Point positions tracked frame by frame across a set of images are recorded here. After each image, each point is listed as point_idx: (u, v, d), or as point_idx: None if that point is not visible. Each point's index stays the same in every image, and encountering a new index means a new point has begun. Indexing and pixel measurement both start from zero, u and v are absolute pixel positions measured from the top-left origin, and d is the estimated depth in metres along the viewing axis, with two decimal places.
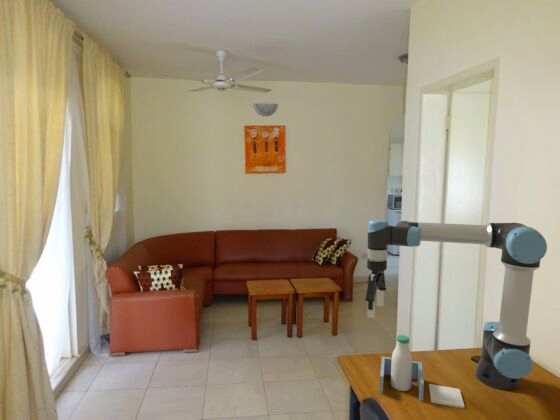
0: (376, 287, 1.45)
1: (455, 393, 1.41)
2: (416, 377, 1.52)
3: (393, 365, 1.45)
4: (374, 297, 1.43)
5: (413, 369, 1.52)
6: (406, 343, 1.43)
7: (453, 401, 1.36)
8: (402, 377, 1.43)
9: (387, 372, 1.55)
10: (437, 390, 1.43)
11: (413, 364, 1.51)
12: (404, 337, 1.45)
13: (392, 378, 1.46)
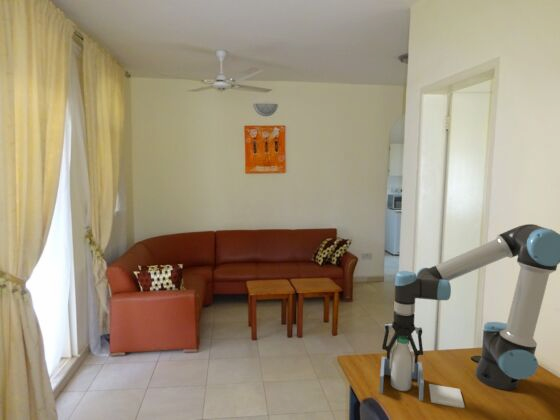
0: (394, 339, 1.45)
1: (455, 393, 1.41)
2: (416, 377, 1.52)
3: (393, 365, 1.45)
4: (390, 348, 1.46)
5: None
6: (406, 343, 1.43)
7: (453, 401, 1.36)
8: (402, 377, 1.43)
9: (387, 372, 1.55)
10: (437, 390, 1.43)
11: None
12: (404, 337, 1.45)
13: (392, 378, 1.46)
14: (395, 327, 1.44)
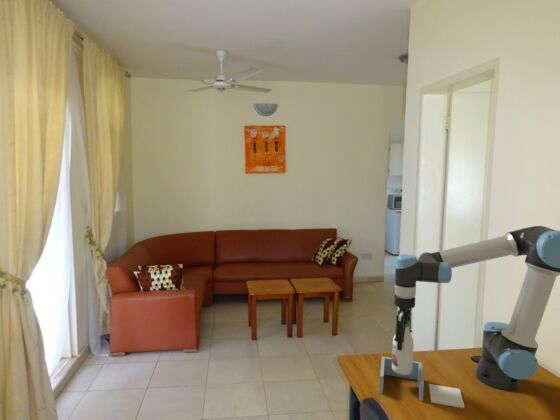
0: None
1: (455, 393, 1.41)
2: (416, 377, 1.52)
3: (406, 352, 1.42)
4: (403, 337, 1.40)
5: (413, 369, 1.52)
6: None
7: (453, 401, 1.36)
8: (412, 358, 1.44)
9: (387, 372, 1.55)
10: (437, 390, 1.43)
11: (413, 364, 1.51)
12: None
13: (405, 366, 1.42)
14: (405, 314, 1.41)
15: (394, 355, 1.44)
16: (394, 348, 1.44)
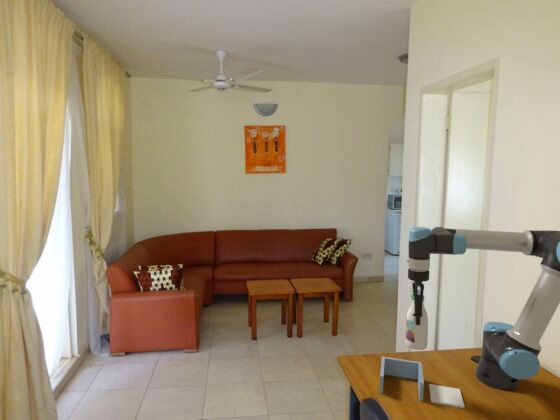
0: None
1: (455, 393, 1.41)
2: (416, 377, 1.52)
3: (423, 326, 1.39)
4: None
5: (413, 369, 1.52)
6: None
7: (453, 401, 1.36)
8: None
9: (387, 372, 1.55)
10: (437, 390, 1.43)
11: (413, 364, 1.51)
12: None
13: (422, 341, 1.39)
14: (421, 287, 1.38)
15: (410, 331, 1.41)
16: (410, 324, 1.40)
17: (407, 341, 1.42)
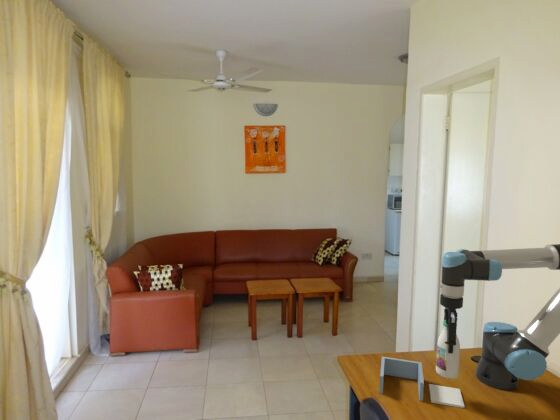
0: None
1: (455, 393, 1.41)
2: (416, 377, 1.52)
3: (456, 354, 1.35)
4: None
5: (413, 369, 1.52)
6: None
7: (453, 401, 1.36)
8: None
9: (387, 372, 1.55)
10: (437, 390, 1.43)
11: (413, 364, 1.51)
12: None
13: (454, 369, 1.36)
14: (455, 314, 1.34)
15: (441, 359, 1.37)
16: (442, 351, 1.36)
17: (438, 368, 1.39)
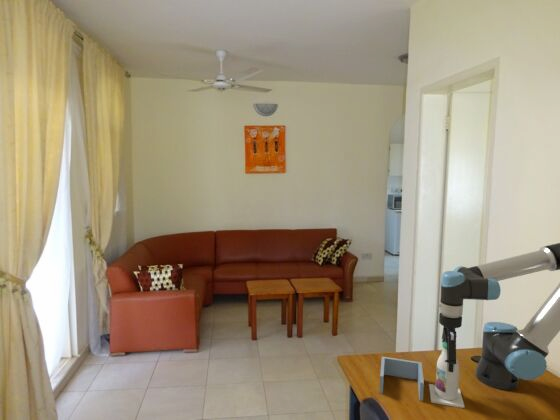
0: None
1: None
2: (416, 377, 1.52)
3: (455, 376, 1.36)
4: None
5: (413, 369, 1.52)
6: None
7: (453, 401, 1.36)
8: None
9: (387, 372, 1.55)
10: None
11: (413, 364, 1.51)
12: None
13: (454, 391, 1.36)
14: (454, 334, 1.35)
15: (441, 380, 1.38)
16: (441, 373, 1.37)
17: (437, 390, 1.39)
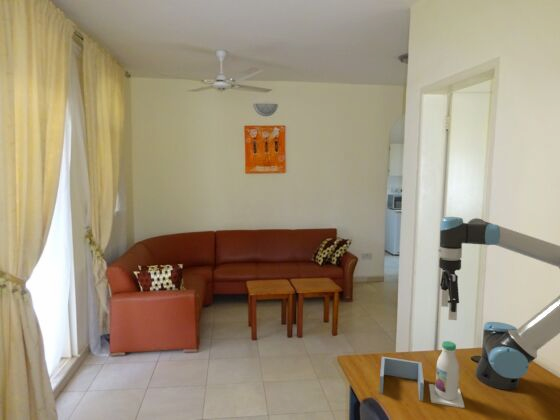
0: None
1: None
2: (416, 377, 1.52)
3: (455, 376, 1.36)
4: None
5: (413, 369, 1.52)
6: None
7: (453, 401, 1.36)
8: None
9: (387, 372, 1.55)
10: None
11: (413, 364, 1.51)
12: (449, 342, 1.39)
13: (454, 391, 1.36)
14: None
15: (441, 380, 1.38)
16: (441, 373, 1.37)
17: (437, 390, 1.39)
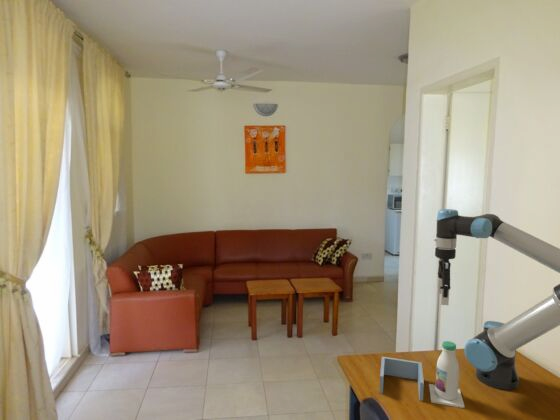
0: None
1: None
2: (416, 377, 1.52)
3: (455, 376, 1.36)
4: None
5: (413, 369, 1.52)
6: None
7: (453, 401, 1.36)
8: None
9: (387, 372, 1.55)
10: None
11: (413, 364, 1.51)
12: (449, 342, 1.39)
13: (454, 391, 1.36)
14: None
15: (441, 380, 1.38)
16: (441, 373, 1.37)
17: (437, 390, 1.39)
